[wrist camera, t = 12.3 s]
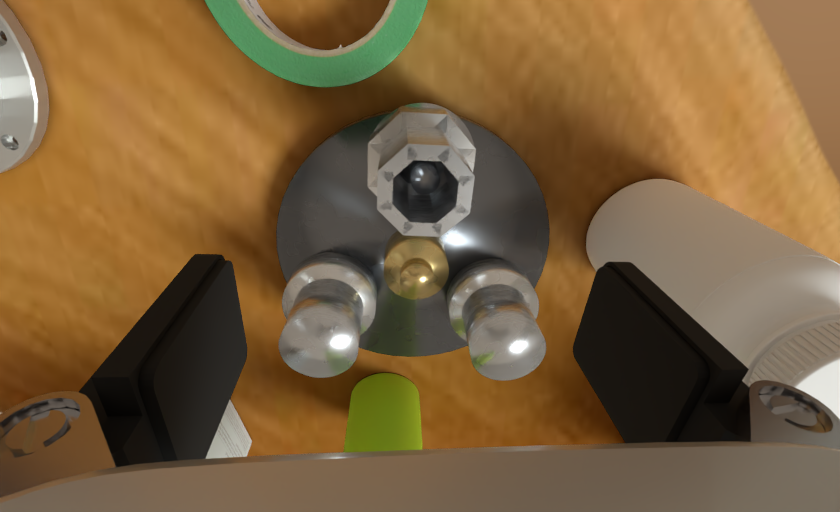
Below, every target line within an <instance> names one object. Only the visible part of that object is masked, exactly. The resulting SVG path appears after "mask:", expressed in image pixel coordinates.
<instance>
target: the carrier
mask: <svg viewBox="0 0 840 512" xmlns="http://www.w3.org/2000/svg"><path fill="white" fill-rule="evenodd" d="M405 106H411V107H427V108H442V109H445V110H446V111H447V113H448V114H449V115H450V116H451V118H452V119H453V120H454V121H455V123H456V124H457V125H458V126H459V128H460V129H461V130H462V131H463V133H464V134H465V135H466V136H467V138H468V139H469V140H470V141H471V143H472V144H473V146H474V147H475V148H476V154H475V162H474V170H473V174H474V176H475V179H474V187H473V194H472V201H471V209H470V214H469V215H467V216H466V217H465V218H464V219H462V220H461V221H460V222H459V223H457V224H456V225H455V226H454V227H452V228H451V229H450V230H449V231H447V232H446V233H445V234H443V235H442V236H441V237H432V236H407V235H402V234H401V233H400V232H399V231H398V230H397V229H396V228H395V227H394V226H393V225H392V224H391V223H390V222H389V221H388V220H387V219H386V218H385V217H384V216H383V215H382V214H381V213H380V212H379V211H378V210H377V196H376V195H375V194H374V193H373V192H372V191H371V190H370V189H369V188H368V141H369V138H370V135H371V134H372V133H373V132H374V131H375V130H376V129H377V128H378V127H379V126H381V125H382V124H383V123H384V122H385V121H386V120H387V119H388V118H389V117H390V116H391V115H392V114H393V113H394V112H395V111H396V110H397V109H398V108H397V109H395V110H393V111H386V112H381V113H378V114H375V115H371V116H368V117H364V118H362V119H360V120H358V121H355V122H353V123H351V124H349V125H347V126H345V127H343V128H342V129H340V130H339V131H337V132H335V133H334V134H332V135H331V136H329V137H328V138H327V139H326V140H325V141H324V142H322V143H321V144H320V145H319V146H318V147H317V148H316V149H315V150H314V151H313V152H312V153H311V154H310V155H309V157H308V158H307V159H306V160H305V161H304V162H303V164H302V165H301V166H300V168H299V169H298V171H297V172H296V174H295V176H294V177H293V179H292V180H291V182H290V184H289V186H288V188H287V190H286V193H285V195H284V197H283V200H282V204H281V207H280V211H279V215H278V222H277V231H276V235H277V251H278V257H279V262H280V266H281V269H282V272H283V275H284V278H285V280H286V282H287V286H286V288H285V291H284V294H283V298H282V308H283V312H284V315H285V317H286V319H287V321H286V323H285V326H284V328H283V331H282V334H281V336H280V339H279V351H280V354H281V356H282V358H283V360H284V361H285V362H286V364H287V365H288V366H290V367H291V368H292V369H293V370H295V371H297V372H299V373H301V374H303V375H306V376H310V377H317V378H326V377H332V376H336V375H339V374H341V373H343V372H345V371H346V370H348V369H349V368H350V367H351V366H352V365H353V363H354V362H355V360H356V358H357V354H358V347H360V348H362V349H365V350H369V351H373V352H376V353H381V354H387V355H393V356H407V357H410V356H427V355H435V354H441V353H445V352H449V351H453V350H456V349H459V348H462V347H465V346H468V347H469V351H470V356H471V360H472V363H473V366H474V367H475V369H476V370H477V371H478V372H479V373H480V374H482V375H483V376H485V377H487V378H490V379H494V380H513V379H517V378H520V377H523V376H525V375H527V374H529V373H530V372H532V371H533V370H534V369H535V368H537V366H538V365H539V364H540V363H541V362H542V360H543V358H544V356H545V352H546V342H545V339H544V337H543V335H542V333H541V331H540V329H539V326H538V324H537V322H536V318H537V315H538V310H539V301H538V297H537V294H536V292H535V290H534V288H535V286H536V284H537V282H538V280H539V278H540V276H541V273H542V271H543V267H544V264H545V261H546V257H547V251H548V246H549V220H548V212H547V208H546V204H545V201H544V197H543V194H542V192H541V190H540V187H539V185H538V183H537V181H536V179H535V177H534V176H533V174H532V172H531V171H530V169H529V168H528V166H527V165H526V164H525V162H524V161H523V160H522V159H521V158H520V157H519V156H518V154H517V153H516V152H515V151H514V150H513V149H512V148H511V147H510V146H509V145H508V144H506V143H505V142H504V141H503V140H502V139H500V138H499V137H498V136H497V135H496V134H494V133H493V132H491V131H489V130H488V129H486V128H485V127H483V126H481V125H480V124H477V123H475V122H473V121H471V120H468V119H466V118H464V117H461V116H458V115H455V114H454V113H453V112H451V111H450V110H448V109H446V108H444V107H442V106H439V105H435V104H431V103H413V104H408V105H405ZM442 171H444V164H443V163H442V162H441V161H423V160H413V161H412V162H411V163H410V164H409V165H408V166H406V167H405V168H404V169H403V170H402V171H401V172H400V173H399V174H400V175H401V176H402V177H403V179H404V180H405V181H406V182H407V183H411V186H412V188H413V189H414V190H415V191H416V192H417V193H419V194H424V195H426V194H430V193H433V192H434V191H435V190H436V189H437V188H438V186H439V184H440V176H439V174H440V173H441V172H442Z"/></svg>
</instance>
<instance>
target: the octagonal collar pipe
mask: <svg viewBox="0 0 840 512" xmlns="http://www.w3.org/2000/svg"><path fill="white" fill-rule="evenodd" d="M475 154H476V148H475V147H474V146H473V144H472V143H471V141H470V140H469V139H468V138H467V136H466V135H465V134H464V133H463V131H462V130H461V129H460V128H459V126H458V125H457V124H456V123H455V121H454V120H453V119H452V118H451V116H450V115H449V114H448V113H447V111H446V110H445V109H442V108H427V107H411V106H401V107H400V108H398V109H397V110H396V111H395V112H394V113H393V114H392V115H391V116H390V117H389V118H388V119H387V120H386V121H385V122H384V123H383V124H382V125H381V126H379V127H378V128H377V129H376V130H375V131H374V132H373V133H372V134H371V135H370V138H369V141H368V188H369V189H370V190H371V191H372V192H373V193H374V194H375V195H376V196H377V210H378V211H379V212H380V213H381V214H382V215H383V216H384V217H385V218H386V219H387V220H388V221H389V222H390V223H391V224H392V225H393V226H394V227H395V228H396V229H397V230H398V231H399V232H400V233H401V234H402V235H407V236H432V237H441V236H442V235H443V234H445V233H446V232H447V231H449V230H450V229H451V228H452V227H454V226H455V225H456V224H457V223H459V222H460V221H461V220H462V219H464V218H465V217H466V216H467V215H469V214H470V209H471V201H472V194H473V187H474V179H475V176H474V174H473V170H474V162H475ZM413 160H423V161H441V162H442V163H443V164H444V171H442V172H441V173H440V174H439V176H440V184H439V186H438V188H437V189H436V190H435V191H434V192H433V193H430V194H426V195H424V194H419V193H417V192H416V191H415V190H414V189H413V188H412V186H411V183H407V182H406V181H405V180H404V179H403V177H402V176H401V175H400V174H399V173H400V172H401V171H402V170H403V169H404V168H405V167H406V166H408V165H409V164H410V163H411V162H412V161H413Z"/></svg>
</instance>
